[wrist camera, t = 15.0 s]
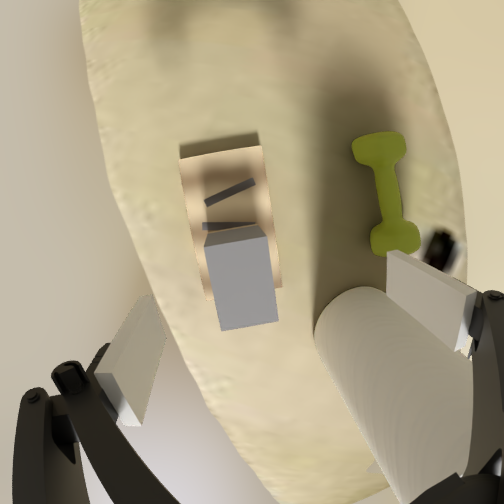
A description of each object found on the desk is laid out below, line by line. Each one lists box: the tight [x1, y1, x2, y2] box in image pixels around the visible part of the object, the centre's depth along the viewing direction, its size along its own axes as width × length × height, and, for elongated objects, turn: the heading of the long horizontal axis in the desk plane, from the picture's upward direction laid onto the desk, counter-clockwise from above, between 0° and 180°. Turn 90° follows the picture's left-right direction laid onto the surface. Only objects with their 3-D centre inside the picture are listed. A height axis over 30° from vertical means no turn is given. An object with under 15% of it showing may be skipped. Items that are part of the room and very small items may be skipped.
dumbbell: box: [352, 131, 421, 257], centre depth 33 cm, size 16×8×7 cm, turn 14°
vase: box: [314, 287, 473, 504], centre depth 26 cm, size 14×14×32 cm
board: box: [178, 145, 282, 301], centre depth 35 cm, size 18×10×2 cm, turn 9°
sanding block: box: [204, 224, 279, 331], centre depth 31 cm, size 9×6×8 cm, turn 9°
